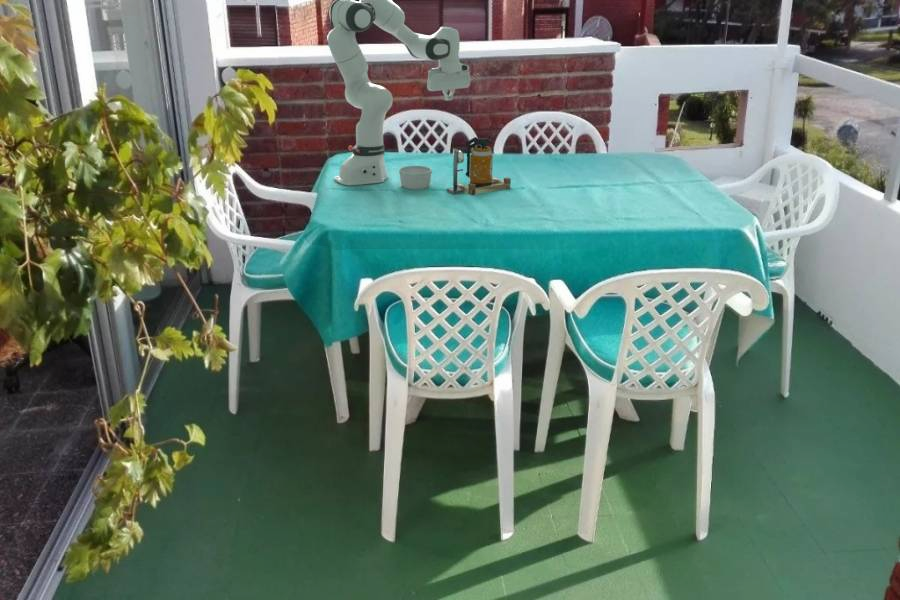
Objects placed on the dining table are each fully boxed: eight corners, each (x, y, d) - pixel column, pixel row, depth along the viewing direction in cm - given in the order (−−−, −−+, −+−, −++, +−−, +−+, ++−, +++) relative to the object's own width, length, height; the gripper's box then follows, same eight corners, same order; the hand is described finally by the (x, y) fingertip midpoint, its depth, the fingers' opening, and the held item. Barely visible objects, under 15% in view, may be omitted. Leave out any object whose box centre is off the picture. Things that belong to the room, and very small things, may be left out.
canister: (491, 189, 338) (493, 140, 330) (464, 189, 338) (465, 139, 331) (491, 183, 346) (493, 135, 338) (465, 183, 347) (465, 134, 339)
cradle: (452, 187, 340) (452, 178, 338) (491, 180, 350) (491, 171, 349) (471, 195, 330) (471, 185, 329) (510, 187, 340) (510, 178, 339)
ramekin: (427, 191, 335) (427, 174, 332) (395, 189, 337) (395, 172, 334) (434, 183, 347) (434, 166, 344) (403, 181, 349) (403, 164, 346)
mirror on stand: (453, 194, 331) (453, 151, 324) (446, 191, 335) (446, 148, 328) (465, 192, 334) (466, 149, 327) (458, 189, 338) (459, 146, 331)
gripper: (432, 69, 347) (432, 103, 352) (472, 66, 357) (471, 98, 363) (424, 67, 351) (424, 101, 357) (463, 64, 362) (463, 96, 368)
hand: (448, 100), depth 360 cm, fingers closed
